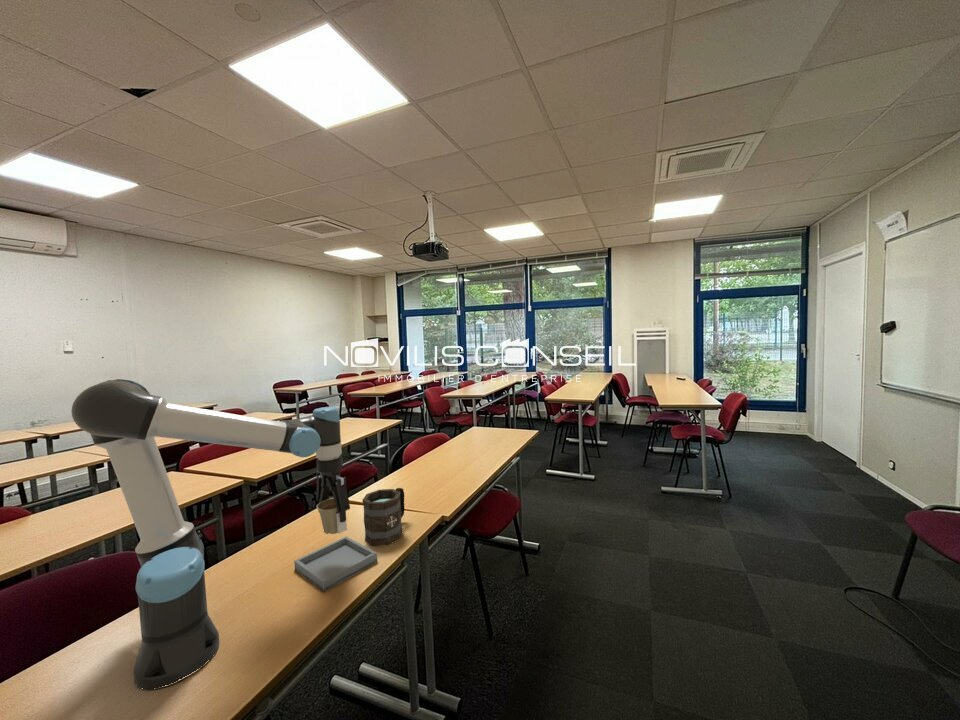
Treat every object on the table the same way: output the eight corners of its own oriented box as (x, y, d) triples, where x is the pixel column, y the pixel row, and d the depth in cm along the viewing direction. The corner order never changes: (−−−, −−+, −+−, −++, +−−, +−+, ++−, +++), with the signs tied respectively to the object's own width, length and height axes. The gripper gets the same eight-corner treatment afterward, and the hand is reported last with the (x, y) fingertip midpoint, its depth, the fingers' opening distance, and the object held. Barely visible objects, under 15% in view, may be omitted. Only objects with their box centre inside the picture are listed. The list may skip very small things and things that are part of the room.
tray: (324, 592, 107) (323, 581, 107) (294, 570, 119) (294, 560, 119) (377, 561, 121) (376, 552, 121) (346, 544, 133) (346, 536, 133)
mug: (388, 549, 128) (385, 506, 128) (356, 542, 134) (353, 501, 133) (419, 522, 146) (416, 484, 146) (390, 518, 152) (388, 481, 151)
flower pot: (311, 533, 118) (309, 506, 117) (335, 520, 126) (334, 495, 126) (332, 540, 113) (330, 512, 113) (356, 525, 122) (354, 499, 121)
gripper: (359, 459, 114) (364, 531, 116) (323, 448, 128) (328, 514, 129) (336, 466, 109) (341, 542, 110) (301, 454, 122) (306, 522, 123)
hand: (334, 527), depth 119 cm, fingers closed on flower pot, 9 cm apart
